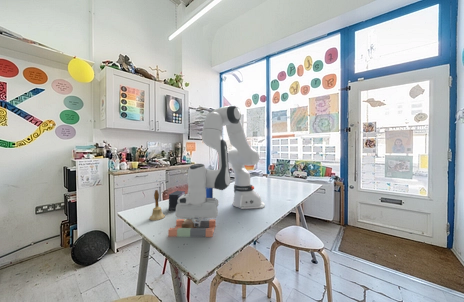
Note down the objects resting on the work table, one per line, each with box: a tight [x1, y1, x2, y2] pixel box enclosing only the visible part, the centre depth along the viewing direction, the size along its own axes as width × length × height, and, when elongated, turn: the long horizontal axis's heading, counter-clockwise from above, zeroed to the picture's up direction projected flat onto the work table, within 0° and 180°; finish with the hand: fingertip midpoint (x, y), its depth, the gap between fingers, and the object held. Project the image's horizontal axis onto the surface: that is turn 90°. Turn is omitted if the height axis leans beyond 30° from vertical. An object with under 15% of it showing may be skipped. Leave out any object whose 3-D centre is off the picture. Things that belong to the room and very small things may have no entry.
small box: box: [168, 190, 186, 212], centre depth 115 cm, size 11×6×10 cm, turn 168°
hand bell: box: [148, 189, 166, 222], centre depth 100 cm, size 8×8×16 cm
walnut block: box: [182, 218, 198, 228], centre depth 85 cm, size 5×6×4 cm
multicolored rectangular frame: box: [167, 218, 217, 238], centre depth 84 cm, size 20×12×3 cm, turn 88°
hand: (197, 226), depth 84 cm, fingers closed
